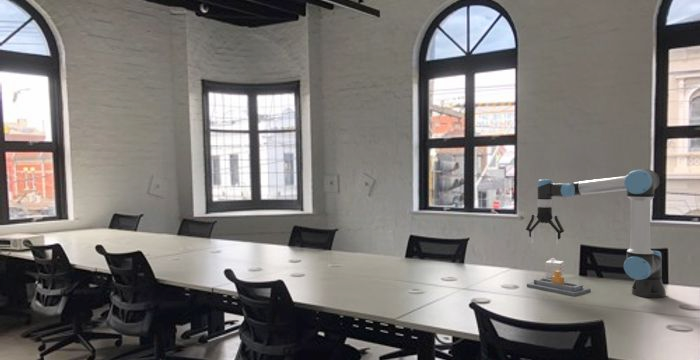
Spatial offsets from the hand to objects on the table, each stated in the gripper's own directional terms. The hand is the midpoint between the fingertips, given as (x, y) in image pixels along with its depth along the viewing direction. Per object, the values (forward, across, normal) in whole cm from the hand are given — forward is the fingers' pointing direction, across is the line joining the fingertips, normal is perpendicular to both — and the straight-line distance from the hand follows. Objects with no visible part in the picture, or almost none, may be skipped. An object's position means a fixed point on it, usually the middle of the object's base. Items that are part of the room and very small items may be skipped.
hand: (544, 243), depth 281 cm
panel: (+23, -9, +7) cm, 26 cm away
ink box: (+23, -3, -10) cm, 26 cm away
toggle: (+21, -9, +7) cm, 24 cm away
